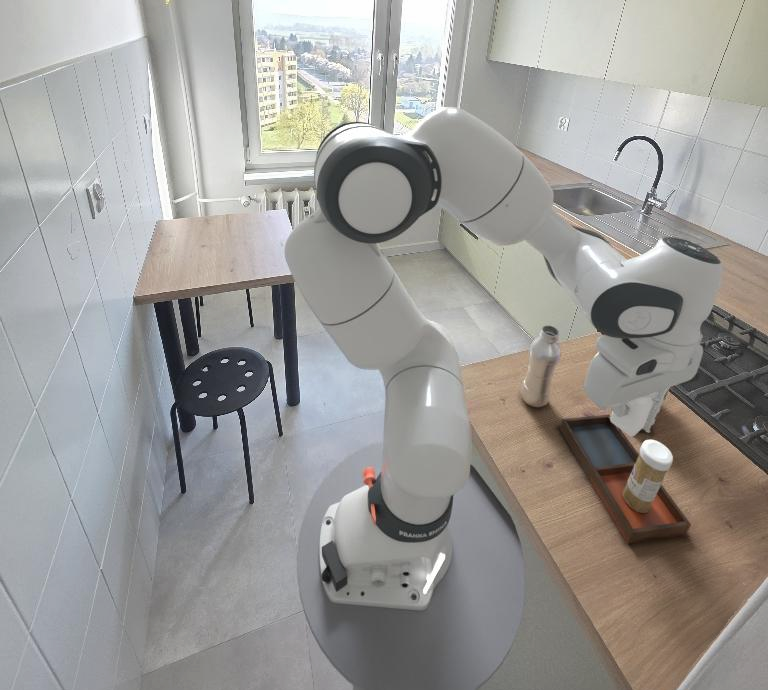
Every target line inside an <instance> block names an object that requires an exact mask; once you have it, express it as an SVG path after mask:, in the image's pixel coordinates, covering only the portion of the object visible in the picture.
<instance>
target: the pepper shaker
mask: <svg viewBox="0 0 768 690" xmlns="http://www.w3.org/2000/svg"><path fill="white" fill-rule="evenodd" d="M650 395H651V394H649V395H646V396H643V397H640V398H637V399H634V400H632V401H629V402H628V403H625V404H626V405H627V406H628V407H629V408H630V409H629V411H628V414H627V415H625V416H622V417H618V416H617V415H616V414H615V413H614V412H613V411H612V410H611V414H610V416H611V417H610V421H611V422H612V423H613V424H614V425H616V426H617V427H618V428H620V430H621V431H622V432H623V433H625V435H627V436H629V437H634V436H636V435H637V434H638V433H639V432H641V431H640V430H641V429H642V428H643V427H644V425H645V422H646V420H647V417H648V415H649V412H650V410H651V407H652V405H653V401H652V399H651V398H650Z"/></svg>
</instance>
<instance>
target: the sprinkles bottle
mask: <svg viewBox="0 0 768 690" xmlns="http://www.w3.org/2000/svg"><path fill="white" fill-rule="evenodd" d="M638 454H639V457H638V459H637V461H636V463H635V465H634V467H633V470H632V472H631V474H630V476H629V479H628V482H627V484H626V487H625V488H624V489H623V492H622V495H623V499H624V501H625V502H626V504H627V505H628V506H629V507H630V508H632V509H633V510H635V511H637V512H640V513H647V512H648V511H649V510H650V507H651V503H652V501H653V500H654V498H655V496H656V494H657V492H658V490H659V488H660V486H661V485H663V484H662V483H663V481H664V479H665V476H666V474H667V471H668V470H670V468H671V466H672V464H673V462H674V457H673V453H672V452H671V450H670V449H669V448H668V447H667V446H666V445H665V444H663V443H662V442H661V441H659V440H655V439H646V440H644V441H643V442H642V444H641V446H640V447H639V453H638Z"/></svg>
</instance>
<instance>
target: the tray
mask: <svg viewBox="0 0 768 690" xmlns="http://www.w3.org/2000/svg"><path fill="white" fill-rule="evenodd" d="M610 417H611V414H600V415H590V416H579V417H571V418H570V417H569V418H562V419H561V423H560V426H559V430H560V432H561V434H562V436H563V437H564V439H565V441H566V443H567V444H568V446H569V448H570V450H572V452H573V454H574V456H575V458H576V460H577V461H578V462H579V464H580V466H581V468H582V470H583V471H584V473H585V474H586V476H587V478H588V480H589V481H590V483H591V484H592V486H593V488H594V490H595V491H596V493H597V495H598V496H599V498H600V499H601V501H602V504H604V507H605V508H606V510H607V512H608V513H609V515H610V516H611V518H612V520H613V522H614V523H615V525H616V527H617V528H618V530H619V533H621V535H622V537H623V538H624V540H625V542H626V543H627V544H628V545H629V544H635V543H636V544H637V543H643V542H648V541H655V540H661V539H662V540H663V539H669V538H674V537H681V536H682V537H683V536H686V535H687V534H688V531H689V529H690V527H691V525H692V524H691V522H690V521H689V520H688V518H687V517H686V516H685V514H684V513H683V512H682V511H681V509H680V508H679V506H678V505H677V503H676V502H675V501H674V499H673V498H672V497H671V495H670V494H669V493H668V491H667V489H666V488H665V487H664V486H663V484H661V486H660V488H659V490H658V492H657V494H656V496H655V498H654V500H653V501H652V503H651V507H650V510H649V511H648V512H647V513H640V512H637V511H635V510H633V509H632V508H630V507H629V506H628V505H627V504H626V502H625V501H624V499H623V495H622V492H623V489H624V488H625V487H626V484H627V482H628V479H629V476H630V474H631V472H632V470H633V467H634V465H635V463H636V461H637V459H638V457H639V454H640V453H639V452H638V451H637V449H636V447H634V446H633V445H632V443H631V442H630V440H629V439H628V438H627V436H626V434H624V431H622V430H621V429H620V428H618V427H617V426H616V425H614V424H613V423H612V422H611V421H610Z"/></svg>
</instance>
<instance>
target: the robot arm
mask: <svg viewBox="0 0 768 690" xmlns="http://www.w3.org/2000/svg"><path fill="white" fill-rule="evenodd" d="M316 151H317V152H316V154H315V155H316V156H315V161H314V167H313V169H314V170H313V180H314V185H315V189H316V190H315V191H316V201H317V202H318V206H317V209H315V211H314V212H313V213H311V214H310V215H308V216H307V217H305V218H304V219H302V220H301V221H300V222H299V223H298V224H296V226H294V228H293V229H292V230H291V232H290V233H289V235H288V237H287V239H286V241H285V244H284V251H283V252H284V253H283V254H284V259H285V262H286V265H287V267H288V268H289V271H290V274H291V276H292V278H293V281H294V282H295V284H296V287H297V288H298V290H299V292H300V294H301V296H302V297H303V299H304V300H305V302H306V304H307V306H308V307H309V308H310V310H311V311H312V313H313V314H314V316H315V318H316V319H317V320H318V322H319V323H320V324H321V326H322V327H323V328H324V330H325V331H326V333H327V334H328V335H329V336H330V338H331V340H332V341H333V342H334V344H335V345H336V346H337V348H338V349H339V350H340V352H341V353H342V355H343V356H344V357H345V358H346V360H347V361H348V363H350V364H351V365H352V366H353V367H355V368H358V369H360V370H368V371H378V372H379V373H380V375H381V378H382V381H383V386H384V390H385V391H384V392H385V394H384V395H385V396H384V397H385V399H384V414H383V416H384V418H383V435H382V436H383V437H382V441H383V454H382V471H381V473H380V474H379V476H378V477H377V479H376V478H375V470H374V468H372V467H367V468H365V469H364V470H363V476H364V484H365V486H363V487H361V488H359V489H357V490H355V491H353V492H351V493H349V494H347V495H345V496H344V497H343V498H342V499H341V501H340V502H339V503H336V504H333V505H331V506H330V507H329V508H328V510H327V512H326V514H325V516H324V519H323V522H322V526H321V532H320V541H319V565H320V573H321V579H322V583H323V586H324V589H325V591H326V594H327V596H328V597H329V599H330V600H331V601H332V602H334V603H340V604H351V605H362V606H373V607H384V608H396V609H407V610H418V611H423V610H425V609H427V607H428V606H429V604H430V601H431V598H432V594H433V591H434V588H435V587H436V585H437V584H438V583H439V582H440V580H441V579H442V578H443V577H444V575H445V574H446V572H447V570H448V568H449V565H450V562H451V558H452V537H451V533H450V530H449V520H450V517H451V512H452V507H453V494H455V493H456V492H458V491H459V490H460V489H461V488H462V487H463V486H464V485H465V483H466V482H467V480H468V478H469V474H470V464H471V462H472V460H471V459H472V429H471V423H470V417H469V409H468V404H467V398H466V392H465V386H464V381H463V374H462V368H461V361H460V356H459V353H458V351H457V348H456V346H455V343H454V341H453V339H452V337H451V335H450V333H449V331H448V330H447V329H446V328H445V326H444V325H442V324H440V323H438V322H436V321H434V320H430V319H428V318H426V316H424V314H423V313H422V312H421V311H420V310H419V308H418V307H417V304H416V303H415V302H414V300H413V299H412V297H411V295H410V293H409V292H408V291H407V289H406V287H405V286H404V284H403V282H402V281H401V279H400V277H399V276H398V274H397V273H396V271H395V270H394V267H392V265H391V263H390V262H389V260H388V258H387V257H386V256H385V254H384V252H383V250H382V248H381V246H380V244H381V243H385V242H388V241H391V240H393V239H395V238H397V237H399V236H401V234H403V233H405V232H406V231H407V230H409V228H411V227H412V226H413V225H414V224H415V223H416V222H417V221H418V220H419V218H420V217H422V216H424V215H425V214H427V213H428V212H429V211H431V210H432V209H434V208H435V207H436V206H437V205H438V206H439V207H440V208H442V209H443V210H444V211H445V212H447V213H448V214H449V215H450V216H452V218H454V219H455V220H456V221H458V222H459V223H460V224H461V225H462V226H464V227H465V228H466V229H468V231H470V232H472V233H473V234H475V235H477V236H479V237H480V238H482V239H484V240H486V241H488V242H490V243H491V244H494V245H496V246H499V247H505V246H507V247H508V246H512V245H516V244H519V243H522V242H524V241H525V242H526V243H527V244H528V245H529V246H531V247H532V248H533V249H534V250H536V251H537V252H539V253H540V254H541V255H542V257H543V259H544V262H545V265H546V268H547V270H548V272H549V274H550V276H551V277H552V278H553V279H554V280H555V281H556V282H557V283H558V284H559V286H561V287H562V288H563V290H564V292H566V294H567V295H568V296H569V298H570V299H571V300H572V301H573V302H574V304H575V305H576V307H578V309H579V311H581V313H582V314H583V315H584V317H585V318H586V319H587V320H588V321H589V323H590V324H591V325H592V326H593V327H594V328H595V330H597V332H599V333H600V334H602V335H600V336H599V337H598V338H597V339H596V342H595V344H594V347H595V349H596V350H597V351H598V352H597V353H596V354H595V355H594V357H593V358H592V360H591V361H590V364H589V366H588V370H587V373H586V375H585V380H584V384H583V391H584V393H585V395H586V396H587V398H588V399H589V400H590V401H591V402H592V403H593V404H594V405H595V406H596V407H597V408H599V409H600V410H601V411H606V410H608V409H611V412H612V411H613V412H614V413H615V414H616V415H617V416H618V417H622V416H625V415H627V414H628V411H629V409H630V408H629V407H628V406H627V405H626V404H625V403H628V402H629V401H632V400H634V399H637V398H640V397H643V396H646V395H649V394H651V395H650V398H651V399H652V401H653V403H654V401H655V399H656V398H657V397H658V396H659V395H660V394H661V393H662V392H663V391H664V389H666V388H669V387H670V388H671V387H675V386H677V385H680V384H683V383H686V382H689V381H691V380H692V379H694V377H695V376H696V374H697V373H698V370H699V367H700V364H701V361H702V358H703V353H704V347H703V346H702V345H701V342H702V340H703V334H702V331H701V327H702V324H703V323H704V321H706V320H707V319H708V318H709V316H710V315H711V312H712V311H713V308H714V305H715V303H716V301H717V297H718V294H719V292H720V288H721V285H722V280H723V270H724V269H723V264H722V261H721V260H720V259H719V257H718V256H716V255H715V254H714V253H712V252H711V251H710V250H708V249H706V248H704V247H703V246H701V245H700V244H698V243H697V244H696V243H694V242H692V241H690V240H687V239H684V238H680V237H675V236H664V237H661V238H660V239H659V240H658V241H657V242H656V244H655V245H654V247H652V248H650V249H649V250H648V251H646V252H645V253H642V254H640V255H638V256H636V257H635V256H634V257H632V258H629V259H627V258H625V257H624V255H622V254H621V253H620V252H619V251H618V250H616V248H614V247H613V246H612V244H611V243H610V242H608V241H607V239H606V238H605V237H604V236H602V235H601V234H600V233H597V232H596V231H593V230H590V229H587V228H582V227H578V226H576V225H574V224H571V223H570V222H569V221H567V220H566V219H565V218H564V217H563V216H562V215H560V213H558V211H556V210H555V209H554V208H553V206H554V199H555V198H554V194H555V193H554V190H553V188H552V187H551V186H550V184H549V182H548V181H547V180H546V178H545V177H544V175H543V174H542V172H540V170H539V169H538V167H537V166H536V165H535V164H534V163H533V162H532V161H531V160H530V158H528V157H527V156H526V154H524V153H523V152H522V151H521V150H520V149H519V148H517V146H515V145H514V144H513V143H512V142H511V141H510V140H509V139H507V137H505V136H503V135H502V133H500V132H499V131H497V130H496V129H494V127H492V126H490V125H489V124H487V123H486V122H484V121H483V120H481V119H480V118H478V117H476V116H475V115H473V114H472V113H469V112H468V111H466V110H464V109H463V108H461V107H457V106H446V107H442V108H438V109H437V110H434V111H432V112H430V113H429V114H427V115H426V116H425V117H423V118H422V119H421V120H420V121H419V122H418V123H417V124H416V125H415V127H414V128H413V130H410V131H409V132H408V133H405V134H404V135H403V134H402V135H395V134H392V133H390V132H388V131H387V130H385V129H383V128H381V127H379V126H376V125H374V124H373V123H368V122H364V121H350V122H346V123H342V124H339V125H338V126H337V127H335V128H333V129H332V130H331V131H329V132H328V133H327V134H326V135H325V136H324V138H323V139H322V140H321V142H320V144H319V146H318V148H317V150H316ZM379 243H380V244H379ZM670 388H669V389H670ZM327 522H330V525H327V524H326V523H327ZM362 594H363V595H364V596H361V595H362ZM412 596H415V597H416V600H412V599H411V597H412Z"/></svg>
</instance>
